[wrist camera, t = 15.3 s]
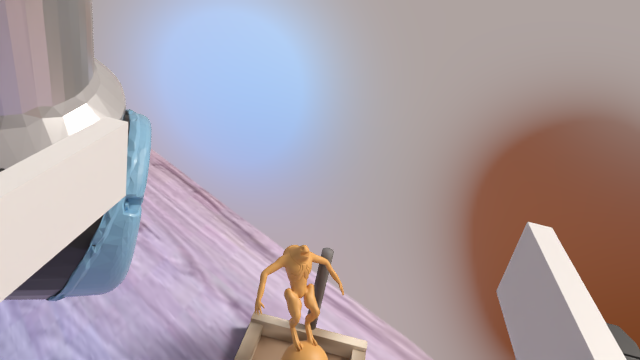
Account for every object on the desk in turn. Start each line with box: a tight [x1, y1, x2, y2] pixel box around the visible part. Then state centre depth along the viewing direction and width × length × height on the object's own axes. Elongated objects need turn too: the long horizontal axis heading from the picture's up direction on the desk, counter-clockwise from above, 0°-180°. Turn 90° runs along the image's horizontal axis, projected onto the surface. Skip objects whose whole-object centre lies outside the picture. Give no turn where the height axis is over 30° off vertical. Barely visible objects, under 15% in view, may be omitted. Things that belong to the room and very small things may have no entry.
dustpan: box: [234, 248, 367, 360], centre depth 39 cm, size 11×14×10 cm
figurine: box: [255, 245, 344, 360], centre depth 40 cm, size 8×6×12 cm
